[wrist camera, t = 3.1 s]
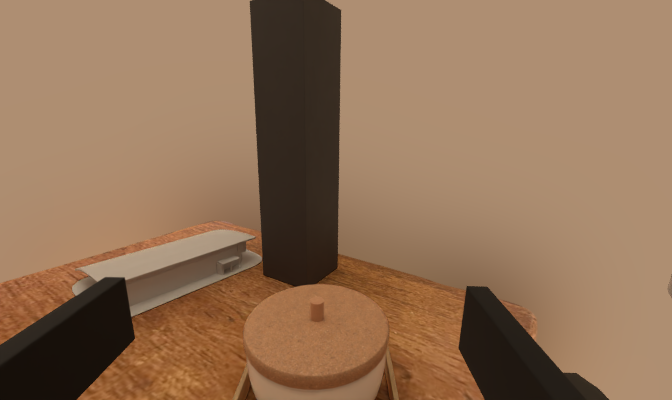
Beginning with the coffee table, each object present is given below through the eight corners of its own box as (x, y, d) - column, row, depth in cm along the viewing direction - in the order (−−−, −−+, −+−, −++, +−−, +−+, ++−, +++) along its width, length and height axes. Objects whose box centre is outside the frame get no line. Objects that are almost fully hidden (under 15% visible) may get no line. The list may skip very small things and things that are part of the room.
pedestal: (337, 267, 48) (341, 10, 40) (307, 290, 42) (303, -13, 33) (297, 255, 52) (292, 19, 44) (263, 275, 46) (249, 0, 37)
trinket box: (218, 421, 23) (207, 313, 21) (305, 340, 32) (304, 257, 30) (339, 515, 18) (342, 382, 16) (404, 386, 27) (411, 288, 24)
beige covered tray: (269, 259, 51) (268, 237, 50) (101, 329, 34) (94, 297, 33) (218, 237, 60) (217, 218, 59) (66, 283, 43) (60, 257, 42)
